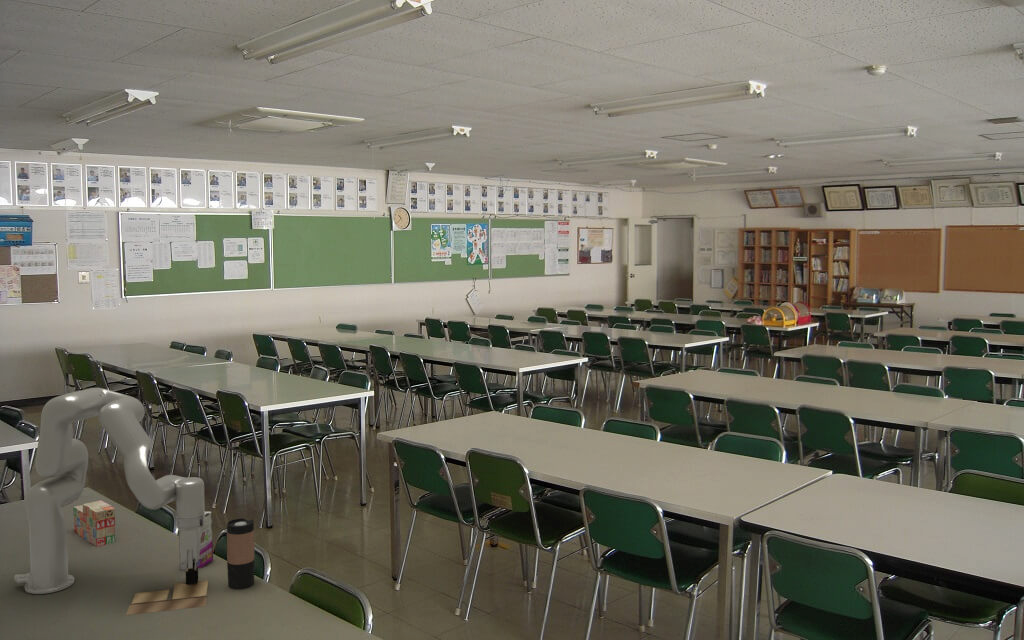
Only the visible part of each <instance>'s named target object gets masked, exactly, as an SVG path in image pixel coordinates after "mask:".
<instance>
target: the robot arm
mask: <svg viewBox="0 0 1024 640" xmlns="http://www.w3.org/2000/svg"><path fill="white" fill-rule="evenodd" d="M145 414H146V413H145V406H144V405H143V403H142V402H141V401H140V400H138V399H137V398H135V397H133V396H130V395H127V394H123V393H120V392H116V391H114V390H113V391H112V390H110V389H106V388H102V387H89V388H85V389H82V390H76V391H72V392H69V393H65V394H61V395H58V396H56V397H53V398H51V399H49V400H48V401H47V402H46V403H45V405H44V406H43V408H42V411H41V415H40V429H39V435H38V440H37V441H38V442H37V448H36V454H35V455H36V456H35V463H34V466H35V470H36V473H37V475H39V476H40V477H42V478H45V479H44V480H42V481H39V482H37V483H35V484H34V485H33V486H31V487H30V488H29V489H28V490H27V491H26V493H25V496H24V500H23V501H24V503H23V504H24V509H25V511H26V515H27V520H28V534H29V561H30V562H29V563H30V565H29V566H30V572H27V573H24V574H23V573H19V574H14V578H13V580H14V582H16V584H23V583H25V585H24V591H25V592H26V593H29V594H32V595H42V594H43V595H45V594H46V595H47V594H52V593H56V592H60V591H62V590H66V589H67V588H69V587H71V586H72V585H73V584H74V582H75V577H74V575H72V574H69V558H68V554H69V553H68V552H69V551H68V549H69V548H68V528H67V527H68V525H67V521H66V517H65V516H64V514H63V511H62V509H63V508H64V507H67V506H69V505H71V504H72V503H74V502H76V501H77V500H79V499H80V498H81V496H82V495H83V492H84V489H85V484H86V477H87V471H88V466H89V465H88V464H89V452H88V448H87V446H86V445H85V443H84V442H83V441H82V440H79V439H78V438H73V437H74V428H73V427H74V426H73V424H72V423H76V422H79V421H84V420H86V419H91V418H94V417H97V418H98V421H99V424H100V425H101V426H102V428H103V429H104V431H105V432H106V434H107V435H108V437H109V439H110V440H111V441H112V443H113V444H114V445H115V447H116V449H117V451H118V452H119V453H120V455H121V456H122V458H123V468H124V469H123V470H124V475H125V480H126V483H127V485H128V488H129V489H130V491H131V492H132V493H133V495H134V496H135V498H136V500H138V502H139V504H141V505H142V506H143V507H144V508H146V509H148V510H159V509H161V508H163V507H164V506H166V505H168V504H170V503H172V502H175V501H176V503H175V504H176V508H175V509H176V529H177V530H179V529H180V530H181V533H180V554H179V564H180V563H181V564H183V563H185V560H186V570H185V582H186V585H189V584H197V583H198V581H199V568H197V562H198V560H199V555H200V545H201V527H203V526H204V525H205V511H206V510H205V506H206V505H205V482H204V480H203V479H202V478H201V477H196V476H195V477H194V476H193V477H192V476H191V477H189V476H188V477H186V476H185V477H183V476H179V475H174V474H166V475H164V476H162V477H160V478H158V479H156V478H154V476H153V475H152V473H151V472H150V469H149V466H148V455H149V452H150V449H151V447H152V440H151V438H150V436H149V435H148V433H147V432H146V431H145V429H144V427H143V426H142V425H141V423H140V422H141V421H142V420H143V419H144V416H145Z"/></svg>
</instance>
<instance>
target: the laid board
mask: <svg viewBox="0 0 1024 640" xmlns="http://www.w3.org/2000/svg"><path fill="white" fill-rule="evenodd" d="M207 598H208V595H206V596H198V597H189V598H179V599H167V600H161V601H152V602H142V603H133V604H131V603H129V606H128V608H127V611H126V613H125V615H126V616H129V615H138V614H146V613H157V612H165V611H173V610H183V609H193V608H202V607H206V605H207Z"/></svg>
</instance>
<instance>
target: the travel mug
mask: <svg viewBox="0 0 1024 640" xmlns="http://www.w3.org/2000/svg"><path fill="white" fill-rule="evenodd" d="M254 523H255V522H254V519H249V520H247V519H246V518H242V517H241V518H240V517H239V518H234V519H231V520H229V521H227V523H226V539H227V540H226V558H227V559H226V564H227V567H226V569H227V585H228V588H229V589H231V590H245V589H248V588H251V587H253V585H254V584H255V556H256V555H255V524H254Z"/></svg>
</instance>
